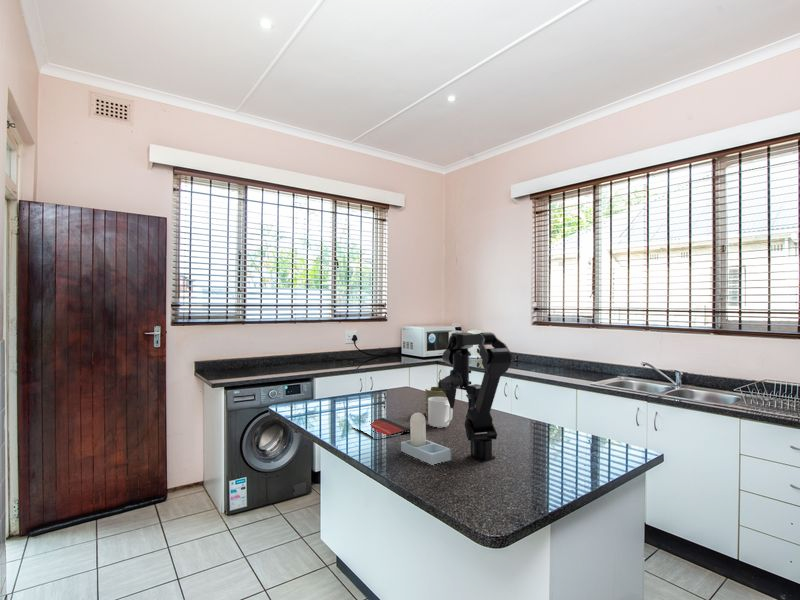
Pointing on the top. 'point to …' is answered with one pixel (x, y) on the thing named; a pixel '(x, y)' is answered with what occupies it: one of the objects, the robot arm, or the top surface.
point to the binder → (388, 427)
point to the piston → (433, 393)
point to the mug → (439, 412)
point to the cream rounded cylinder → (418, 430)
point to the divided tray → (427, 452)
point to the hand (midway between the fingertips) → (461, 410)
